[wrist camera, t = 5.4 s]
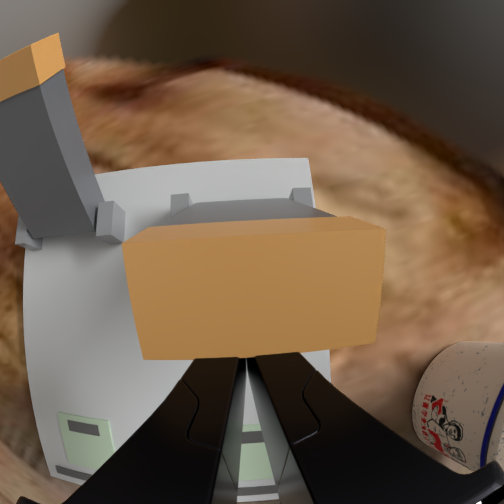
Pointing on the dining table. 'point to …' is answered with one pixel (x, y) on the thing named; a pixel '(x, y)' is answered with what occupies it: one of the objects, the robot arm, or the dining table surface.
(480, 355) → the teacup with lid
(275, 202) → the rocker
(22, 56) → the block
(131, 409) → the switch unit
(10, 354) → the dining table surface
